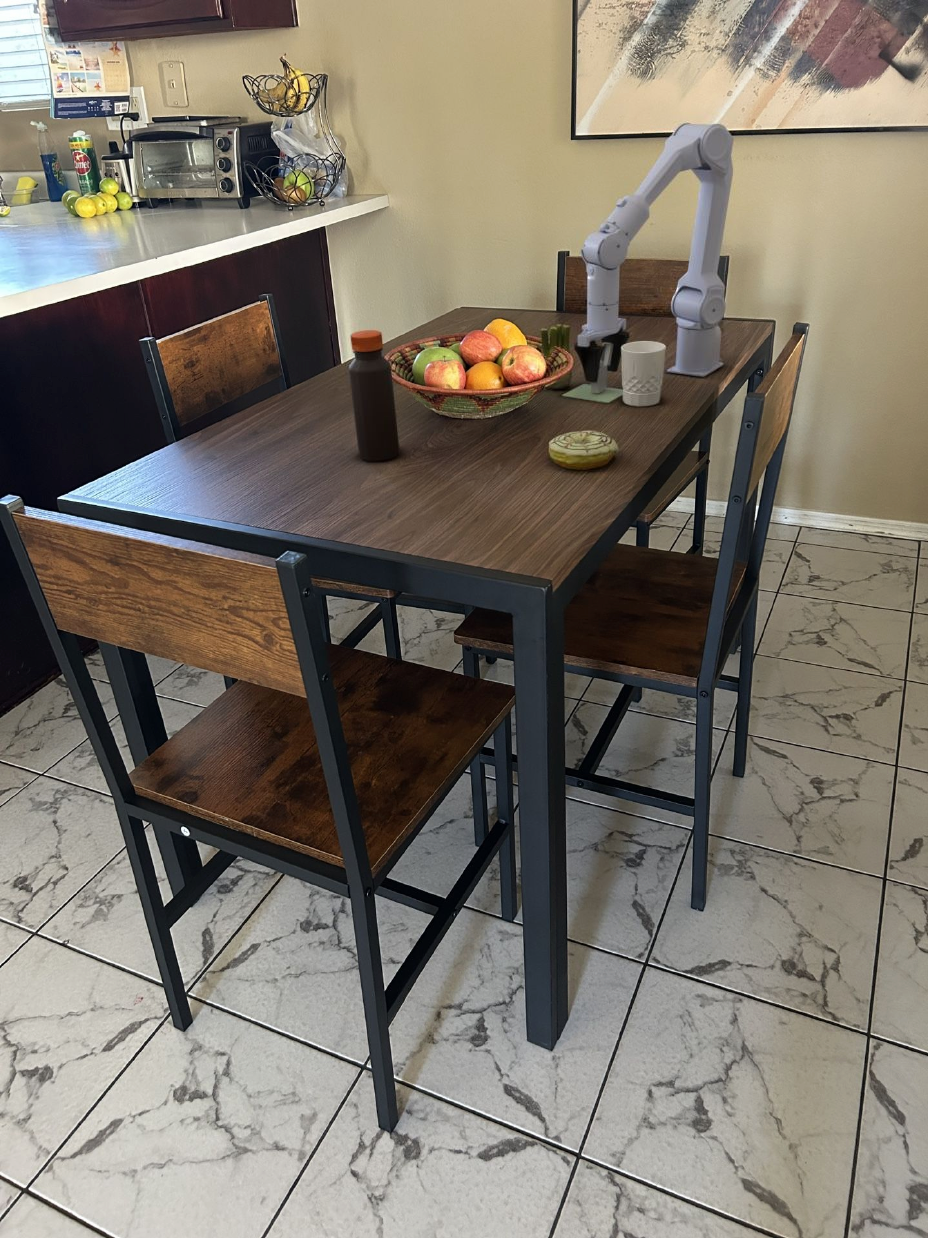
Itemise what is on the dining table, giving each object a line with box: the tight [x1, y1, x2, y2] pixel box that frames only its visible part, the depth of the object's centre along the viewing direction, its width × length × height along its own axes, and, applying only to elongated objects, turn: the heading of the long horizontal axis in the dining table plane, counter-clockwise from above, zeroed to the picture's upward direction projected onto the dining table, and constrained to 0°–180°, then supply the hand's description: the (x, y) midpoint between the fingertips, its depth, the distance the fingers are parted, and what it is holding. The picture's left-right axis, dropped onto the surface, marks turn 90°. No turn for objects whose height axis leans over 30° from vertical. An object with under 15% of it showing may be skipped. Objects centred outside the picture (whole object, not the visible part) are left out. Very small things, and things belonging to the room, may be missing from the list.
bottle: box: [348, 329, 400, 463], centre depth 151 cm, size 7×7×20 cm
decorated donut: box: [548, 429, 619, 471], centre depth 147 cm, size 10×11×4 cm
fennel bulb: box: [540, 323, 573, 390], centre depth 179 cm, size 6×5×12 cm
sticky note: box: [561, 383, 623, 404], centre depth 177 cm, size 8×10×1 cm
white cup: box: [620, 340, 667, 407], centre depth 170 cm, size 8×8×10 cm
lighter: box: [590, 342, 614, 393], centre depth 177 cm, size 7×2×8 cm, turn 150°
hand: (601, 375), depth 178 cm, fingers open, 7 cm apart
